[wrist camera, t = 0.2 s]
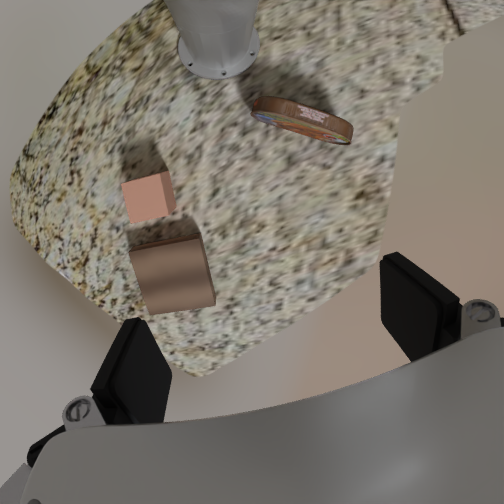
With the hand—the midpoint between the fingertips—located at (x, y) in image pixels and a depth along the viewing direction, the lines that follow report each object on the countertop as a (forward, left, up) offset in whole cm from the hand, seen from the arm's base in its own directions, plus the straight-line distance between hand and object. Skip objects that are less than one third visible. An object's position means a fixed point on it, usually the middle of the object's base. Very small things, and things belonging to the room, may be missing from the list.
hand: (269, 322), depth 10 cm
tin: (-9, +11, -36) cm, 39 cm away
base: (+12, -13, -36) cm, 40 cm away
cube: (-2, -13, -36) cm, 39 cm away
